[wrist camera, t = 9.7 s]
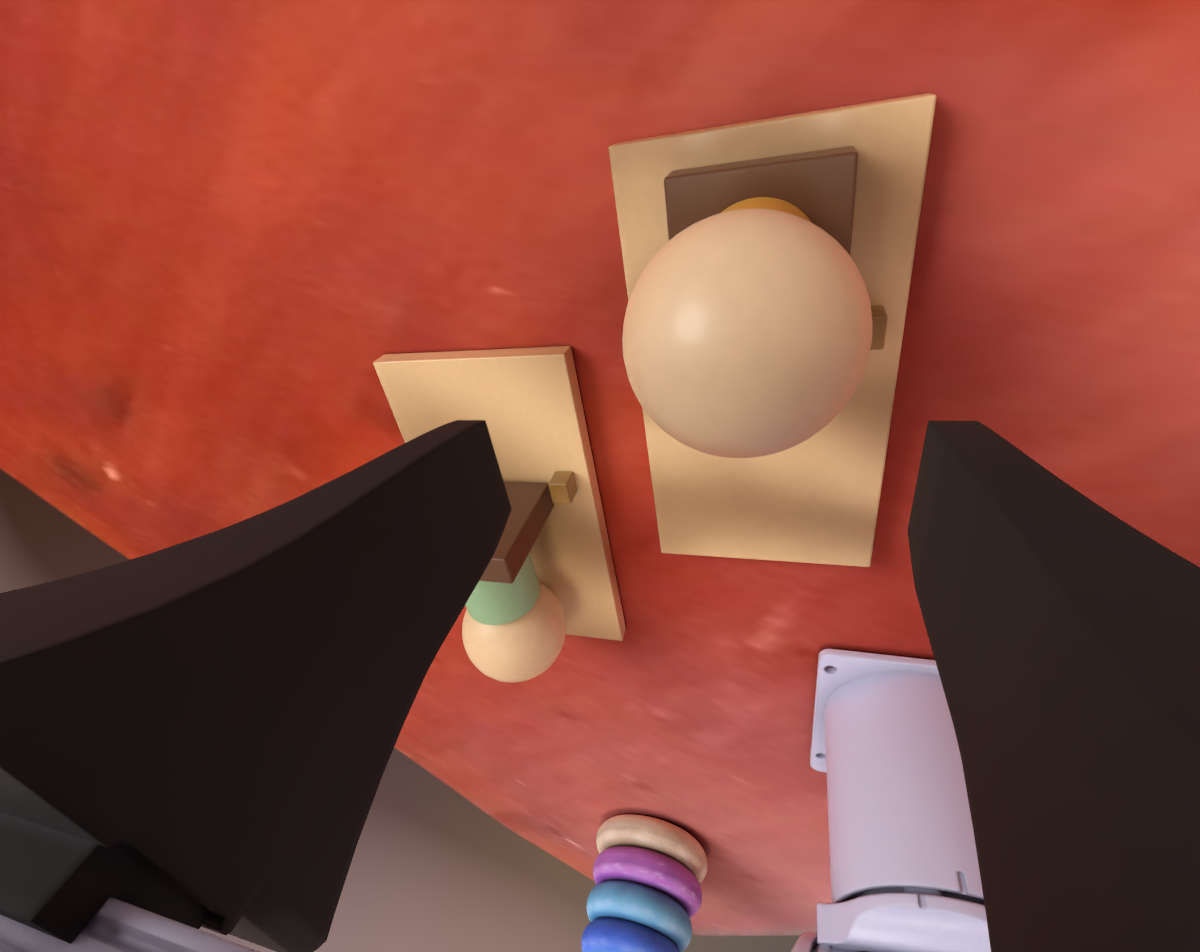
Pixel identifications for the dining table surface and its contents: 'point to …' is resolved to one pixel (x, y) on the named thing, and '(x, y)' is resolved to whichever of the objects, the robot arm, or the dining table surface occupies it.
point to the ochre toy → (751, 305)
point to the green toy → (515, 598)
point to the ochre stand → (861, 430)
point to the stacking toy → (643, 886)
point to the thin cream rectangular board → (525, 457)
